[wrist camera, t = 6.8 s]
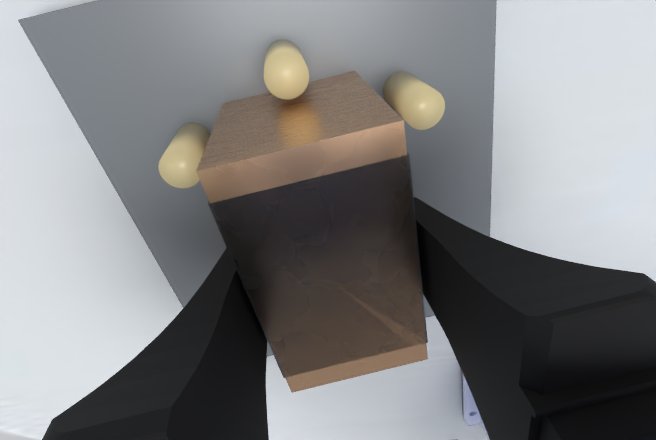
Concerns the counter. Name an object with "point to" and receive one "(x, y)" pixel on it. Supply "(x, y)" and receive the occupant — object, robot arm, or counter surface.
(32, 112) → the counter surface
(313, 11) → the grey peg board
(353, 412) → the counter surface
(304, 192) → the tan wooden block
